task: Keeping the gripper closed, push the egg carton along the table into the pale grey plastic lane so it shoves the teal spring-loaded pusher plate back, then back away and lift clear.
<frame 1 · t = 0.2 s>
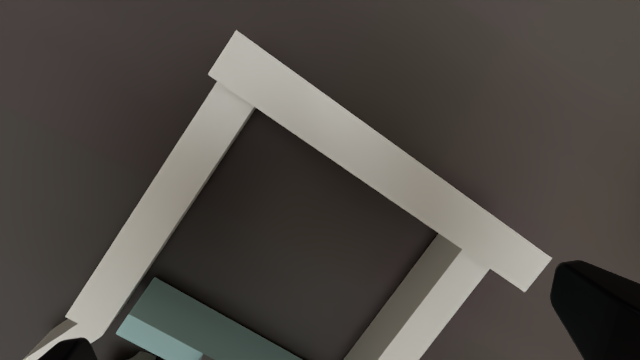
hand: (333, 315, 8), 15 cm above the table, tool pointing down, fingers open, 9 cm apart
lane: (286, 266, 24), on the table
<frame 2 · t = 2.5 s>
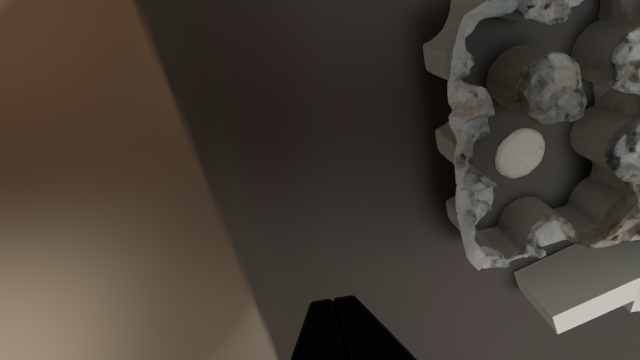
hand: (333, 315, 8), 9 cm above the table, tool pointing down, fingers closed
egg carton: (507, 115, 17), on the table
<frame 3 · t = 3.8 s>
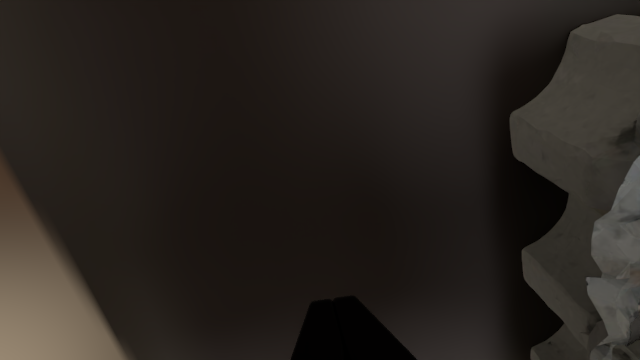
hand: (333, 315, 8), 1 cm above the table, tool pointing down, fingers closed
egg carton: (639, 213, 10), on the table
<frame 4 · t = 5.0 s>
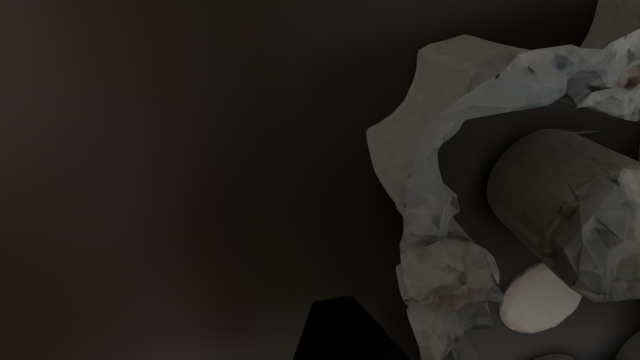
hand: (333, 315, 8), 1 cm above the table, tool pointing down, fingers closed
egg carton: (521, 235, 10), on the table, touching pusher
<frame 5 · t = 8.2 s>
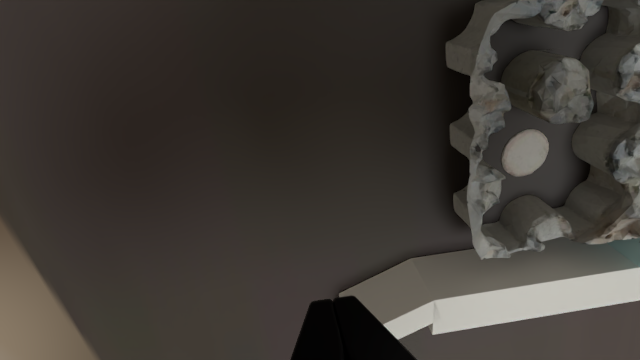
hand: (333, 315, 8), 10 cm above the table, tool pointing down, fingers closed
egg carton: (516, 116, 18), on the table
lane: (568, 113, 17), on the table
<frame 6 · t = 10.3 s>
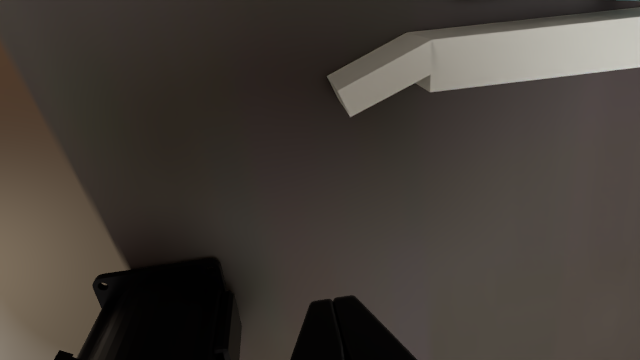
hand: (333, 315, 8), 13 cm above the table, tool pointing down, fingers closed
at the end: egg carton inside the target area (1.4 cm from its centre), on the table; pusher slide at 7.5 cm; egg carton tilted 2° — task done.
